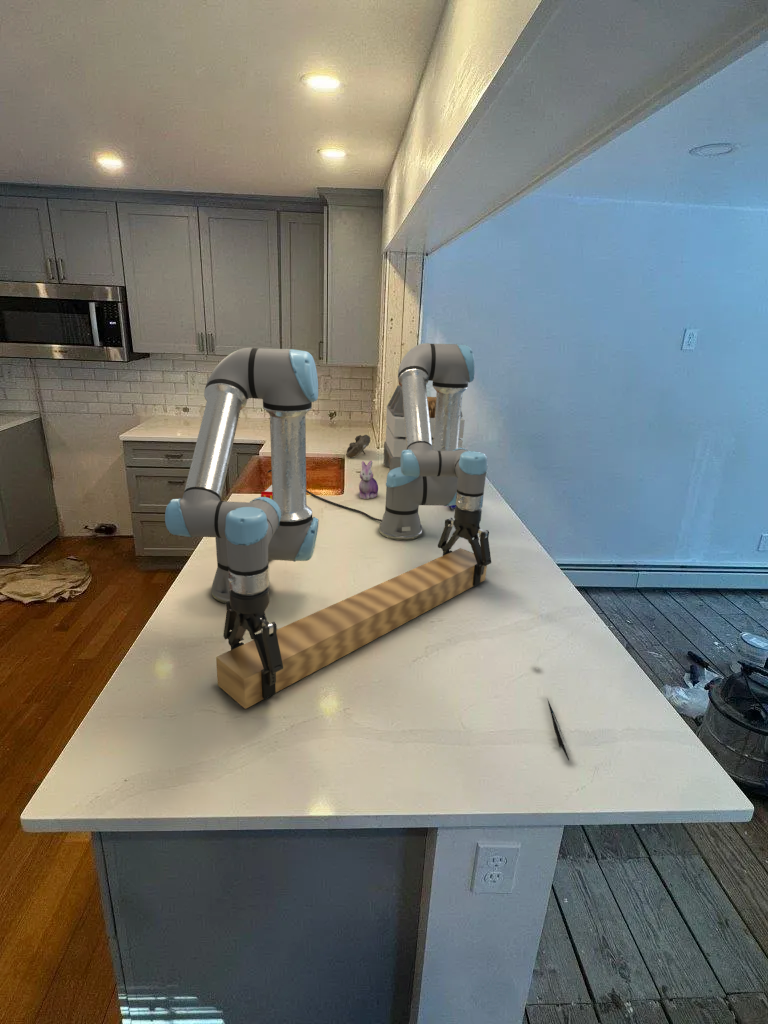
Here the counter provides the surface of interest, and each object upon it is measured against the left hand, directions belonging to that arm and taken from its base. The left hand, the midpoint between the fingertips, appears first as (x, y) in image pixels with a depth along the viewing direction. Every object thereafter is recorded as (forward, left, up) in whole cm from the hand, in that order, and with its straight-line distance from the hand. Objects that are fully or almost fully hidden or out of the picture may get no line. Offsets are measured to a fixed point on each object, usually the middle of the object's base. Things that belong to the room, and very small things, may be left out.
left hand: (253, 683), depth 117 cm
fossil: (-188, +70, -1) cm, 200 cm away
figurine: (-117, +56, -1) cm, 130 cm away
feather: (+22, +57, -1) cm, 61 cm away
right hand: (-36, +63, 0) cm, 72 cm away
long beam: (-18, +31, -1) cm, 36 cm away
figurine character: (-99, +87, -1) cm, 132 cm away
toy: (-99, +17, -1) cm, 100 cm away
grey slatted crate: (-147, +90, -1) cm, 173 cm away
